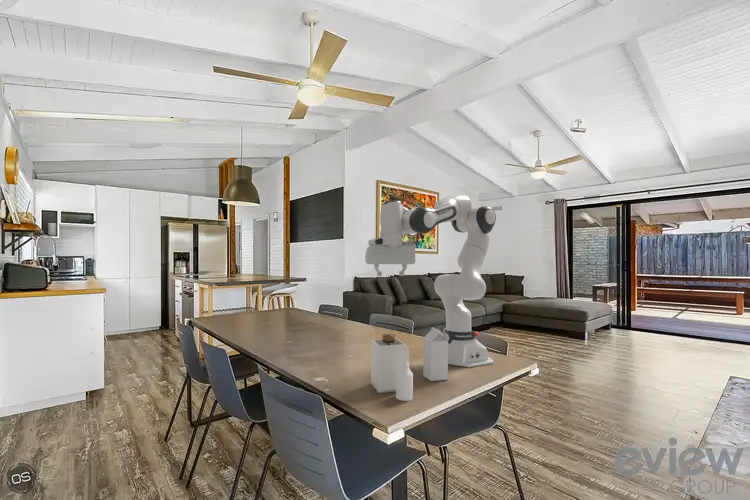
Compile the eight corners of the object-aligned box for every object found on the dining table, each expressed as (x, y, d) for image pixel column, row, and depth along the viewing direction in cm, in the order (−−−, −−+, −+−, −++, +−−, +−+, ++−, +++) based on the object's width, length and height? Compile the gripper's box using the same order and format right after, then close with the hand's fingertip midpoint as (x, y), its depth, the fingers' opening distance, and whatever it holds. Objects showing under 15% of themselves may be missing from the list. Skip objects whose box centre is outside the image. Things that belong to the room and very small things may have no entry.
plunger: (394, 374, 140) (395, 332, 140) (402, 381, 132) (402, 336, 132) (374, 375, 137) (374, 333, 138) (380, 383, 130) (381, 337, 130)
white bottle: (392, 360, 126) (406, 358, 129) (392, 396, 126) (406, 393, 129) (402, 364, 121) (417, 362, 124) (402, 402, 121) (416, 399, 123)
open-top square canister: (403, 380, 142) (403, 338, 142) (413, 389, 132) (414, 344, 132) (370, 383, 138) (371, 340, 138) (378, 393, 128) (379, 346, 129)
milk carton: (430, 381, 141) (431, 330, 141) (423, 375, 148) (423, 327, 148) (448, 380, 143) (448, 330, 143) (439, 374, 150) (440, 326, 150)
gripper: (412, 241, 155) (411, 275, 155) (364, 240, 149) (364, 275, 149) (418, 241, 149) (417, 276, 149) (368, 240, 143) (368, 276, 143)
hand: (390, 275), depth 149 cm, fingers open, 8 cm apart
